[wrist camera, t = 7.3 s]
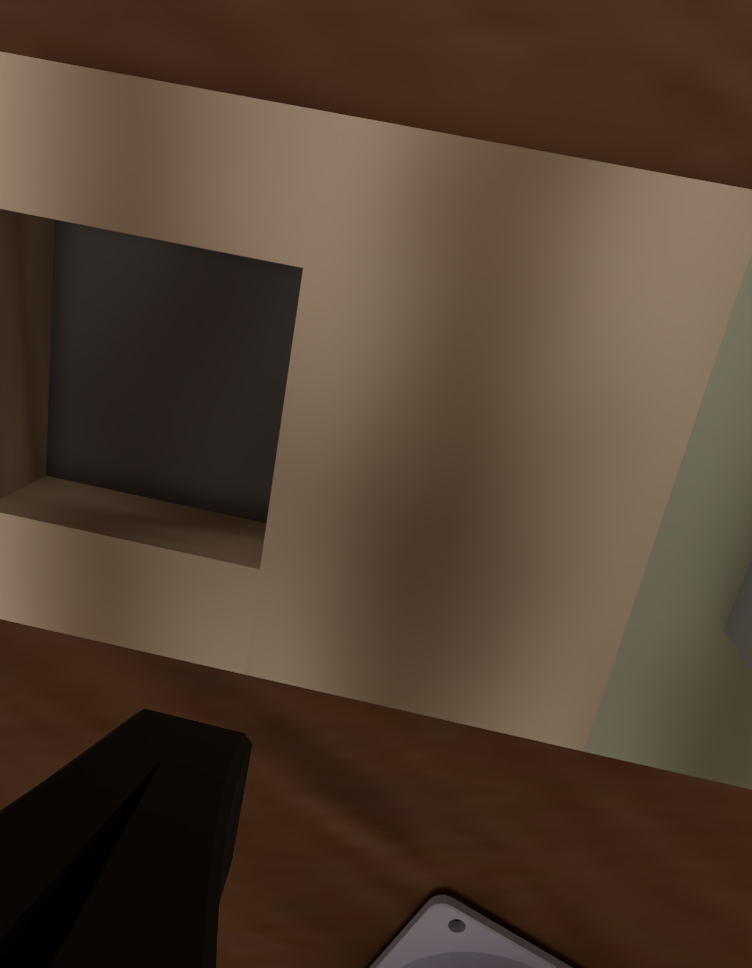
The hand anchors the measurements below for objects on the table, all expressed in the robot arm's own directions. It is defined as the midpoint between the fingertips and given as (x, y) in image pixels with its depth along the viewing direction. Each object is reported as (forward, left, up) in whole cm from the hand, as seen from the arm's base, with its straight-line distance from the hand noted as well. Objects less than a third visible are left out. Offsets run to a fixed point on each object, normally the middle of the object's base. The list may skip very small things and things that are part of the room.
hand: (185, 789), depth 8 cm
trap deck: (-6, -5, -10) cm, 13 cm away
